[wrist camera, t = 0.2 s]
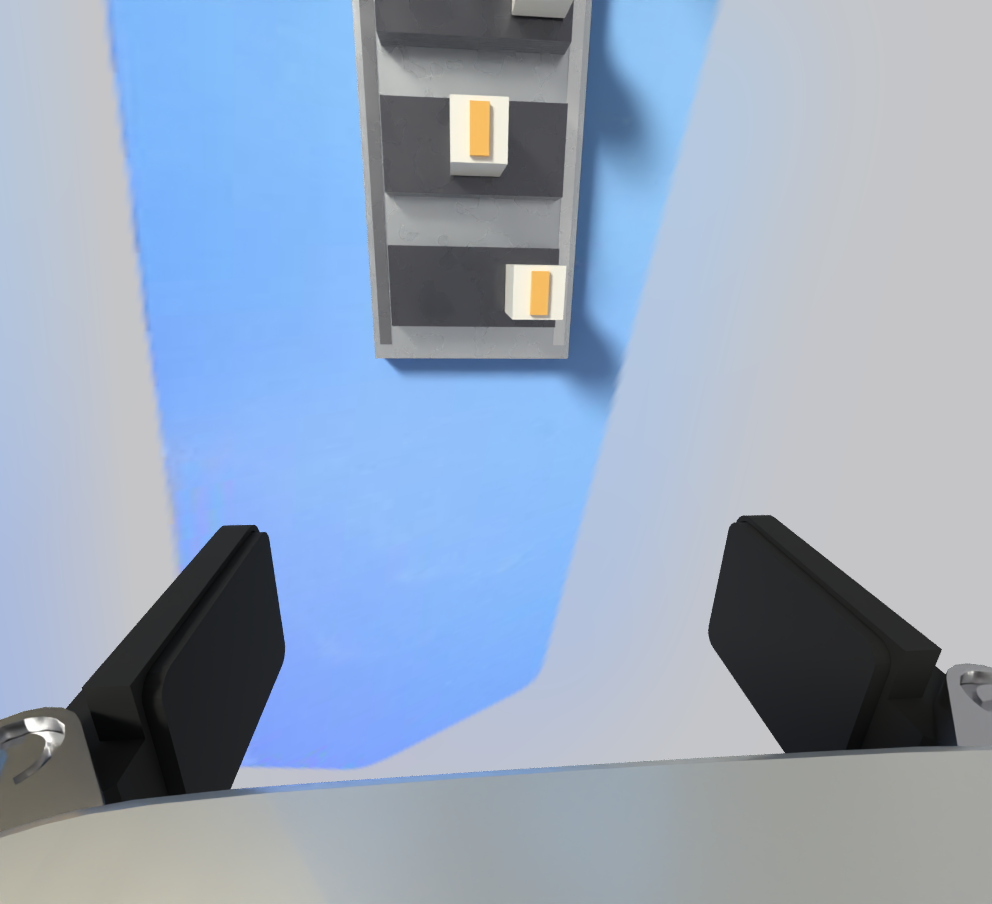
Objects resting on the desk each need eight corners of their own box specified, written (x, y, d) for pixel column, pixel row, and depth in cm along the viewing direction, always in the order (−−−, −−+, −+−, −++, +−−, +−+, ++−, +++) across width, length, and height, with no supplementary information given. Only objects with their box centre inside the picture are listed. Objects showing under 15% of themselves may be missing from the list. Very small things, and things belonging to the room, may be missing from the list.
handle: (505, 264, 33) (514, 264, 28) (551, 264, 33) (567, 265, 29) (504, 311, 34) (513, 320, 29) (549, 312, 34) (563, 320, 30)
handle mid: (449, 117, 30) (449, 92, 25) (500, 119, 30) (509, 94, 26) (450, 175, 31) (450, 160, 26) (499, 176, 31) (508, 162, 27)
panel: (350, -103, 29) (336, -155, 25) (590, -84, 30) (609, -132, 27) (379, 353, 38) (371, 363, 35) (562, 353, 40) (574, 363, 36)
